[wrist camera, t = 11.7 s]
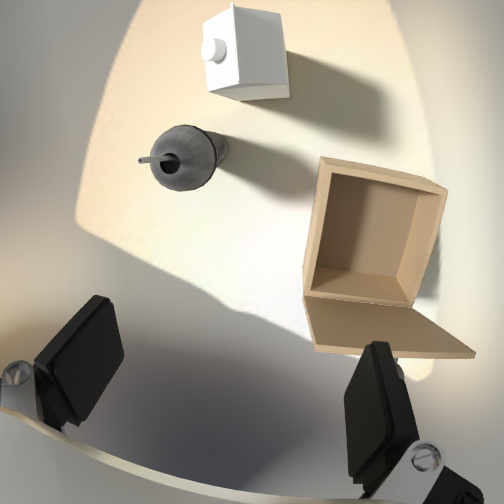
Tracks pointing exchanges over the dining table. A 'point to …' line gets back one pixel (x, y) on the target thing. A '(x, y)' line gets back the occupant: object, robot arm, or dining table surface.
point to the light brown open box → (370, 233)
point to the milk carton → (245, 55)
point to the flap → (378, 330)
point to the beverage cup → (186, 157)
